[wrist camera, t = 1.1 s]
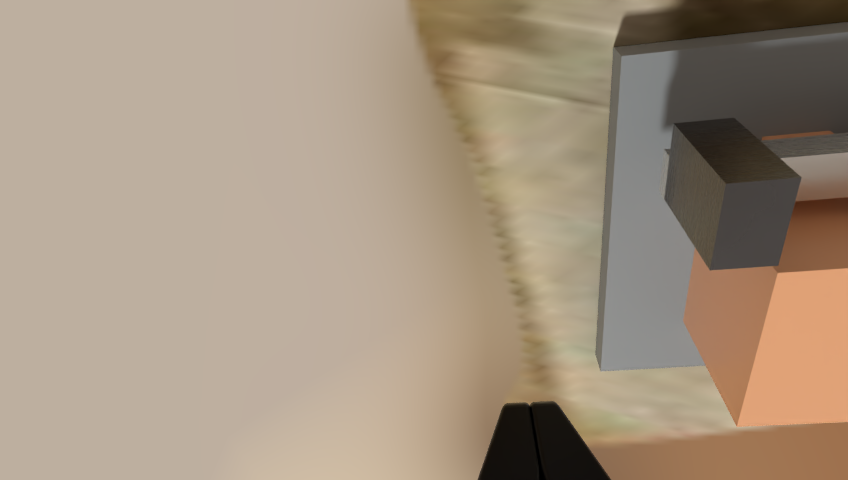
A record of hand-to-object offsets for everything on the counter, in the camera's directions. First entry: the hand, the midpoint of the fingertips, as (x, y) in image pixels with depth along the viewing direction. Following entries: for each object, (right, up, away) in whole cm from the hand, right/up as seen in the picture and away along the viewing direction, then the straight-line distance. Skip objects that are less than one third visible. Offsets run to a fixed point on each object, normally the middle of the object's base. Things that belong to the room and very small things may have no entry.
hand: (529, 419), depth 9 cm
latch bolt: (+10, +6, +7) cm, 14 cm away
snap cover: (+11, +3, +11) cm, 16 cm away
